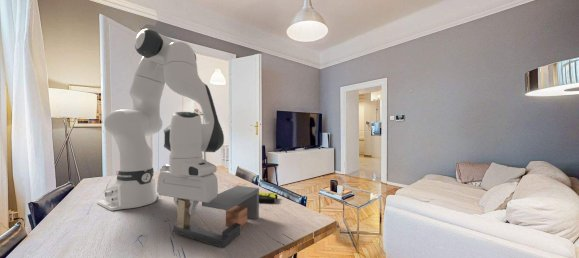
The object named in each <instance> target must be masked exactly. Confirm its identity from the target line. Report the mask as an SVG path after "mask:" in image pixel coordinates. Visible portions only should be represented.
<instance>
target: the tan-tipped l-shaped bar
mask: <svg viewBox="0 0 579 258" xmlns="http://www.w3.org/2000/svg"><path fill="white" fill-rule="evenodd" d="M190 205H191V203H190V200H187V199H179V201H178V212H177V218H176V219H177V220H176V221H177V222H176V223H175V224H173V225H172V233H175V234H179V235H182V236H185V237H186V238H191V239H194V240H197V241H199V242H203V243H206V244H210V245H212V246H215V247H218V248H222V249H224V248H225V247H227V246H228V245H229V244H230V243H231V242H232V241H233V240H235V239H236V238H237V237H238V236H239V235H241V227H242V226H241V224H238V223H234V224H233V225H231V226H227V228H226V229H224V230H223V231H222V233H221V234H220V233H216V232H213V231H210V230H206V229H202V228H199V227H196V226H193V225H191V215H190V214H187V208H190Z"/></svg>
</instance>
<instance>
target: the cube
mask: <svg viewBox="0 0 579 258" xmlns="http://www.w3.org/2000/svg"><path fill="white" fill-rule="evenodd" d="M234 223H238V224H241V227H242V226H244V225H245V224H246V223H248V217H247V207H242V206H235V207H233V208H231V209H229V210H228V211H227V210H225V226H227V227H230V226H231V225H233V224H234Z"/></svg>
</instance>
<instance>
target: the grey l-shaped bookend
mask: <svg viewBox="0 0 579 258" xmlns="http://www.w3.org/2000/svg"><path fill="white" fill-rule="evenodd" d="M259 192H260V188H259V187H253V186H245V185H244V186H243V185H236V186H233V187H231V188H228V189H227V190H224V191H222V192H220V193H219V192H218V195H217V197H216V199H215V200H213V201H211V202H208V203H206V202H201V207H205V208H211V209H216V210H223V211H226V210H227V211H228V210H229V209H231V208H233V207H235V206H242V207H247V219H248V218H249V219H255V220H257V219H259V217H260V216H259V215H260V214H259V213H260V212H259V211H260V209H259V208H260V205H259V204H260V203H259Z"/></svg>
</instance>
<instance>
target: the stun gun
mask: <svg viewBox="0 0 579 258" xmlns="http://www.w3.org/2000/svg"><path fill="white" fill-rule="evenodd" d="M277 200H278V193H276V192H260V191H259V204H273V205H274V204H276V202H277Z"/></svg>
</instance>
